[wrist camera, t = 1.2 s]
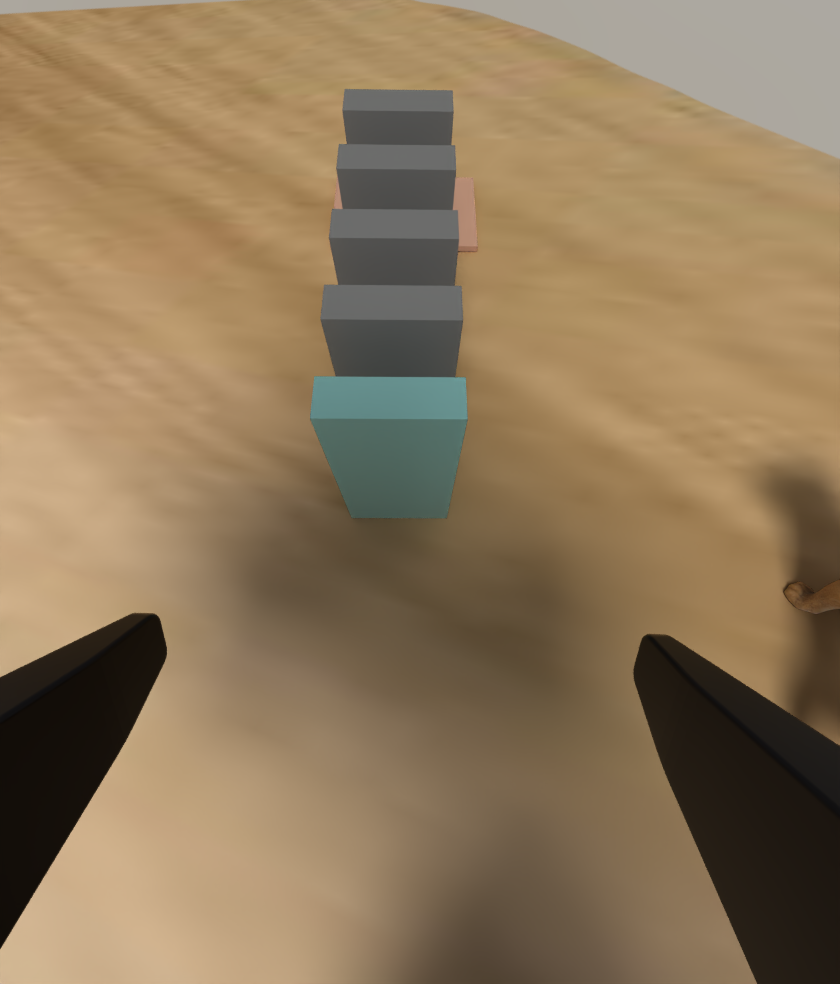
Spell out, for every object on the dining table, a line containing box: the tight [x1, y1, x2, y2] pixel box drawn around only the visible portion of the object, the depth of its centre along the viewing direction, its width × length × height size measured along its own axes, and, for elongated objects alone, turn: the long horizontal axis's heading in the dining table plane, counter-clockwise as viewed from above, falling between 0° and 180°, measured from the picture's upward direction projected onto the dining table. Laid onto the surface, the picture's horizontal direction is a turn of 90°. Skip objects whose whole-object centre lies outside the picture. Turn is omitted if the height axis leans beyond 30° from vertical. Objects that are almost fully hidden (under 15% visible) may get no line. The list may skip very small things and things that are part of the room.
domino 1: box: [343, 89, 453, 145], centre depth 25 cm, size 2×5×10 cm, turn 90°
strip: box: [330, 176, 478, 252], centre depth 32 cm, size 7×10×1 cm
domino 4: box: [321, 285, 463, 377], centre depth 21 cm, size 2×5×10 cm, turn 90°
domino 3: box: [329, 209, 459, 286], centre depth 22 cm, size 2×5×10 cm, turn 90°
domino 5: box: [310, 376, 468, 518], centre depth 19 cm, size 2×5×10 cm, turn 90°
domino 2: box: [336, 144, 456, 210], centre depth 24 cm, size 2×5×10 cm, turn 90°
